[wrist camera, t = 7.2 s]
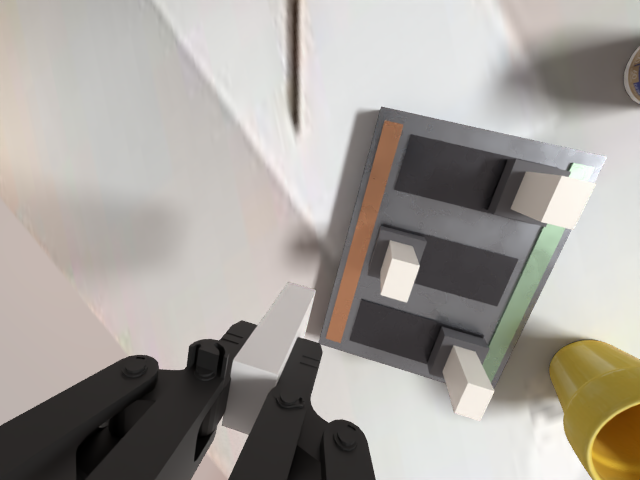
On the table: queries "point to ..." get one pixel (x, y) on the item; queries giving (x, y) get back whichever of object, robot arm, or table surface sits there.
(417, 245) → the breaker mid
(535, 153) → the panel
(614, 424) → the plant pot
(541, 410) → the table surface
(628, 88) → the pill bottle
